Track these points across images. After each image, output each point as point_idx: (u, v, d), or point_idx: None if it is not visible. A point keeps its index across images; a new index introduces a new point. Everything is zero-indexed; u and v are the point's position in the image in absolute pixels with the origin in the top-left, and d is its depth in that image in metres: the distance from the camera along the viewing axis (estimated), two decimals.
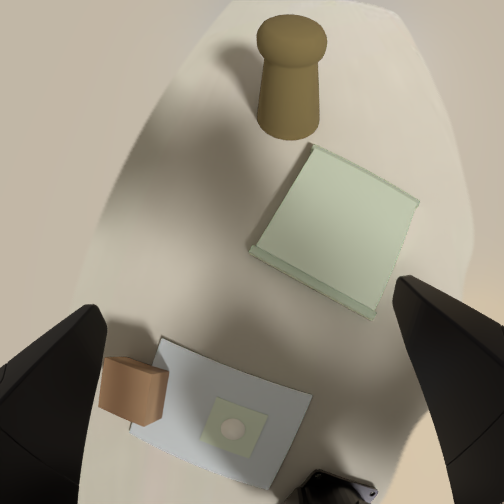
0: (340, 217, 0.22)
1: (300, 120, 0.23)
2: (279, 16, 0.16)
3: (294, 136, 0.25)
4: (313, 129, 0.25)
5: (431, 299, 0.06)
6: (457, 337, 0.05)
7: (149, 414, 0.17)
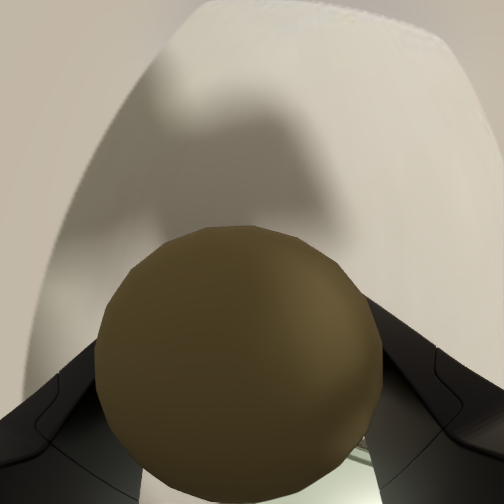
0: None
1: None
2: (164, 289, 0.04)
3: None
4: None
5: None
6: None
7: None
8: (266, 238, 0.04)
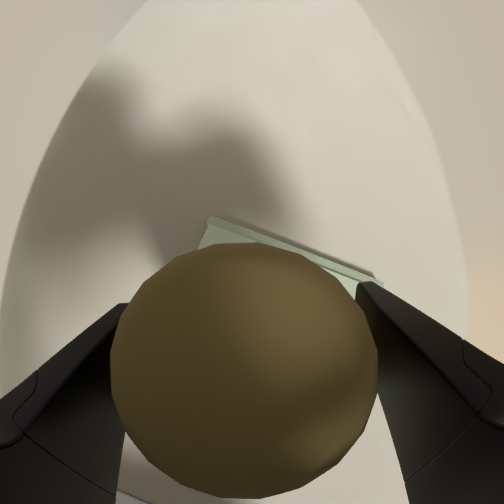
0: None
1: None
2: (178, 303, 0.04)
3: None
4: None
5: (387, 308, 0.06)
6: (409, 350, 0.05)
7: None
8: (272, 256, 0.05)
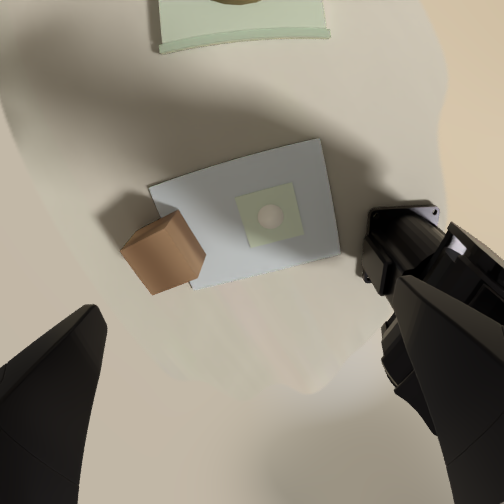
0: None
1: None
2: None
3: None
4: None
5: (431, 299, 0.06)
6: (457, 337, 0.05)
7: (192, 262, 0.19)
8: None
